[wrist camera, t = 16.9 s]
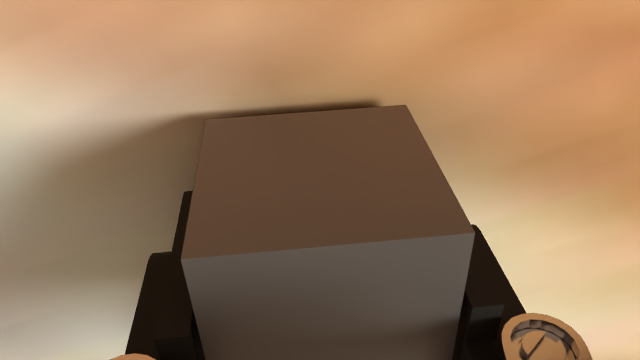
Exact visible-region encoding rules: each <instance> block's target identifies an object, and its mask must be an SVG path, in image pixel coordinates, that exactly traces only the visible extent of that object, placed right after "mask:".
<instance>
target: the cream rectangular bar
mask: <svg viewBox="0 0 640 360" xmlns="http://www.w3.org/2000/svg"><path fill="white" fill-rule="evenodd" d="M474 237H475V231H474V230H473V228H472V226H471V224H470V222H469V220H468V219H467V217H466V215H465V213H464V211H463V209H462V207H461V206H460V204H459V202H458V200H457V198H456V196H455V195H454V193H453V191H452V189H451V187H450V185H449V183H448V182H447V180H446V178H445V176H444V174H443V172H442V171H441V169H440V167H439V165H438V163H437V161H436V159H435V158H434V156H433V154H432V152H431V150H430V148H429V147H428V145H427V143H426V141H425V139H424V137H423V135H422V134H421V132H420V130H419V128H418V126H417V124H416V123H415V121H414V119H413V117H412V115H411V113H410V111H409V110H408V108H407V106H406V105H397V106H383V107H370V108H356V109H342V110H329V111H315V112H301V113H287V114H274V115H260V116H246V117H233V118H219V119H206V121H205V126H204V132H203V138H202V143H201V149H200V154H199V160H198V166H197V171H196V177H195V182H194V188H193V194H192V199H191V205H190V210H189V216H188V222H187V227H186V233H185V238H184V244H183V250H182V255H181V263H182V267H183V271H184V275H185V279H186V283H187V287H188V291H189V295H190V299H191V303H192V307H193V311H194V315H195V319H196V323H197V327H198V331H199V335H200V339H201V343H202V347H203V351H204V355H205V359H206V360H452V356H453V351H454V345H455V340H456V334H457V329H458V324H459V318H460V313H461V307H462V302H463V296H464V291H465V286H466V280H467V275H468V269H469V264H470V258H471V253H472V248H473V242H474Z"/></svg>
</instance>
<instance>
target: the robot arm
mask: <svg viewBox="0 0 640 360" xmlns="http://www.w3.org/2000/svg"><path fill="white" fill-rule="evenodd" d="M192 194H193V191H185V192H184V194H183V199H182V204H181V209H180V214H179V219H178V224H177V229H176V234H175V238H174V243H173V248H172V252H162V253H152V254H151V256H150V258H149V261H148V264H147V268H146V272H145V276H144V280H143V284H142V288H141V292H140V296H139V300H138V304H137V308H136V312H135V316H134V320H133V324H132V328H131V332H130V336H129V340H128V344H127V347H126V351H125V355H121V356H118V357H116V358H113V359H110V360H206V359H205V355H204V351H203V347H202V343H201V339H200V335H199V331H198V327H197V323H196V319H195V315H194V311H193V307H192V303H191V299H190V295H189V291H188V287H187V283H186V279H185V275H184V271H183V267H182V263H181V255H182V250H183V244H184V238H185V233H186V227H187V222H188V216H189V210H190V205H191V199H192ZM471 226H472V228H473V230H474V231H475V237H474V242H473V248H472V253H471V258H470V264H469V269H468V275H467V280H466V286H465V291H464V296H463V302H462V307H461V313H460V318H459V324H458V329H457V334H456V340H455V345H454V351H453V356H452V360H592V357H591V355H590V352H589V350H588V347H587V346H586V344H585V342H584V341H583V339H582V337H581V336H580V335H579V334H578V333H577V332H576V331H575V330H574V329H573V328H572V327H570V326H569V325H567V324H565V323H564V322H562V321H561V320H559V319H556V318H553V317H551V316H548V315H544V314H537V313H526V312H525V310H524V308H523V306H522V304H521V303H520V301H519V299H518V297H517V295H516V294H515V292H514V290H513V288H512V287H511V285H510V283H509V281H508V279H507V278H506V276H505V274H504V272H503V270H502V269H501V267H500V265H499V263H498V261H497V260H496V258H495V256H494V254H493V252H492V251H491V249H490V247H489V245H488V243H487V242H486V240H485V238H484V236H483V234H482V233H481V231H480V230H479V228H478V227H477V226H476V225H471Z"/></svg>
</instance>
